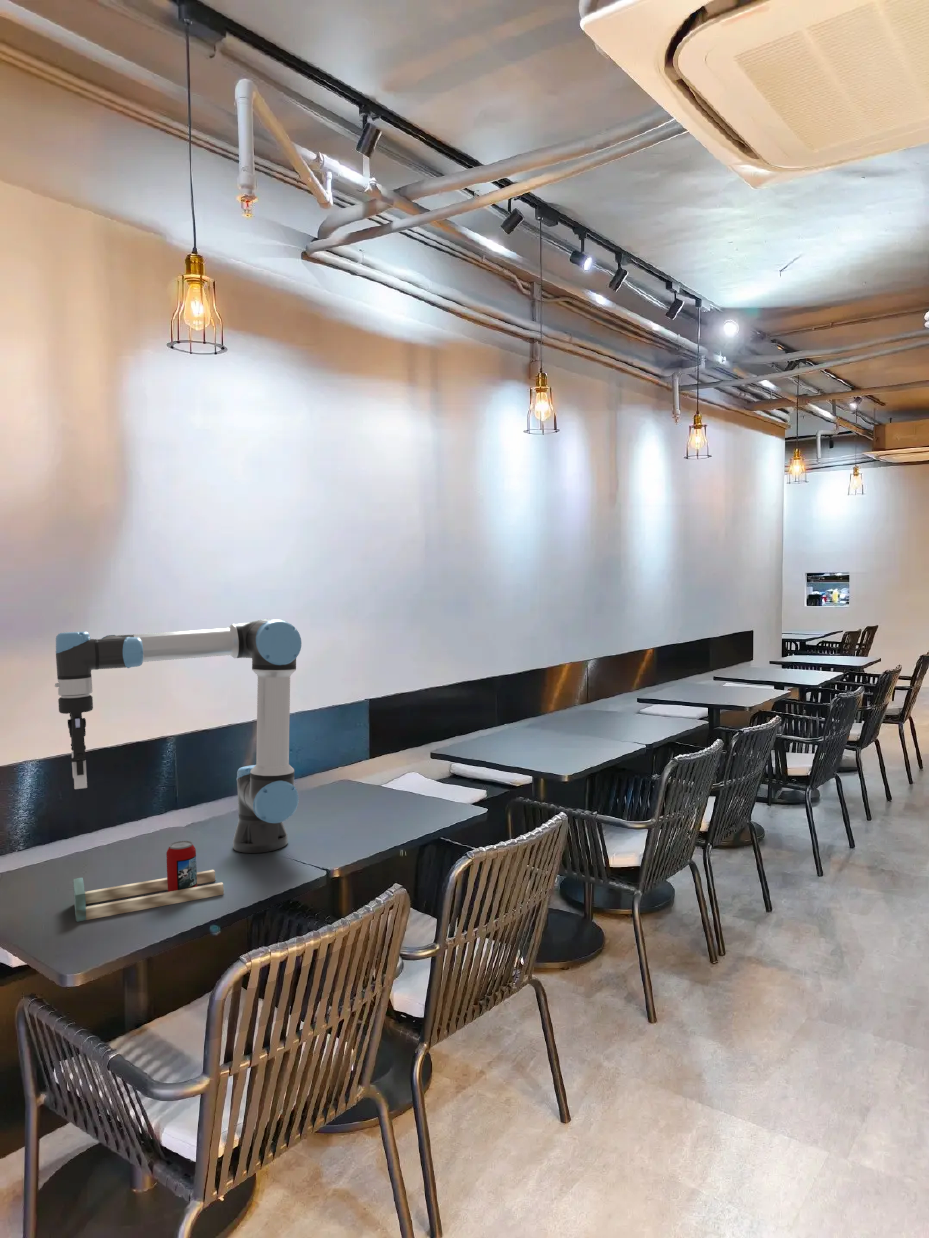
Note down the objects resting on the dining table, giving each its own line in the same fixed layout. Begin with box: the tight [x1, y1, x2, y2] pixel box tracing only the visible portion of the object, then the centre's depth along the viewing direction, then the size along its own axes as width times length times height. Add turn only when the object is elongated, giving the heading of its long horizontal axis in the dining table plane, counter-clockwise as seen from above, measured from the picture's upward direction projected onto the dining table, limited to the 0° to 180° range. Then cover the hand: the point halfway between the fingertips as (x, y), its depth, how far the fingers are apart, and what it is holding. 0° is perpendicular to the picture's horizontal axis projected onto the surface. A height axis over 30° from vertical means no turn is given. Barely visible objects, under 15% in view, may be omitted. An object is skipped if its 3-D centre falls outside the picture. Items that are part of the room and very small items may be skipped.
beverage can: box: [165, 840, 198, 892], centre depth 200 cm, size 7×7×12 cm
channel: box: [72, 869, 225, 923], centre depth 197 cm, size 32×12×6 cm, turn 117°
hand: (79, 782), depth 202 cm, fingers open, 13 cm apart
